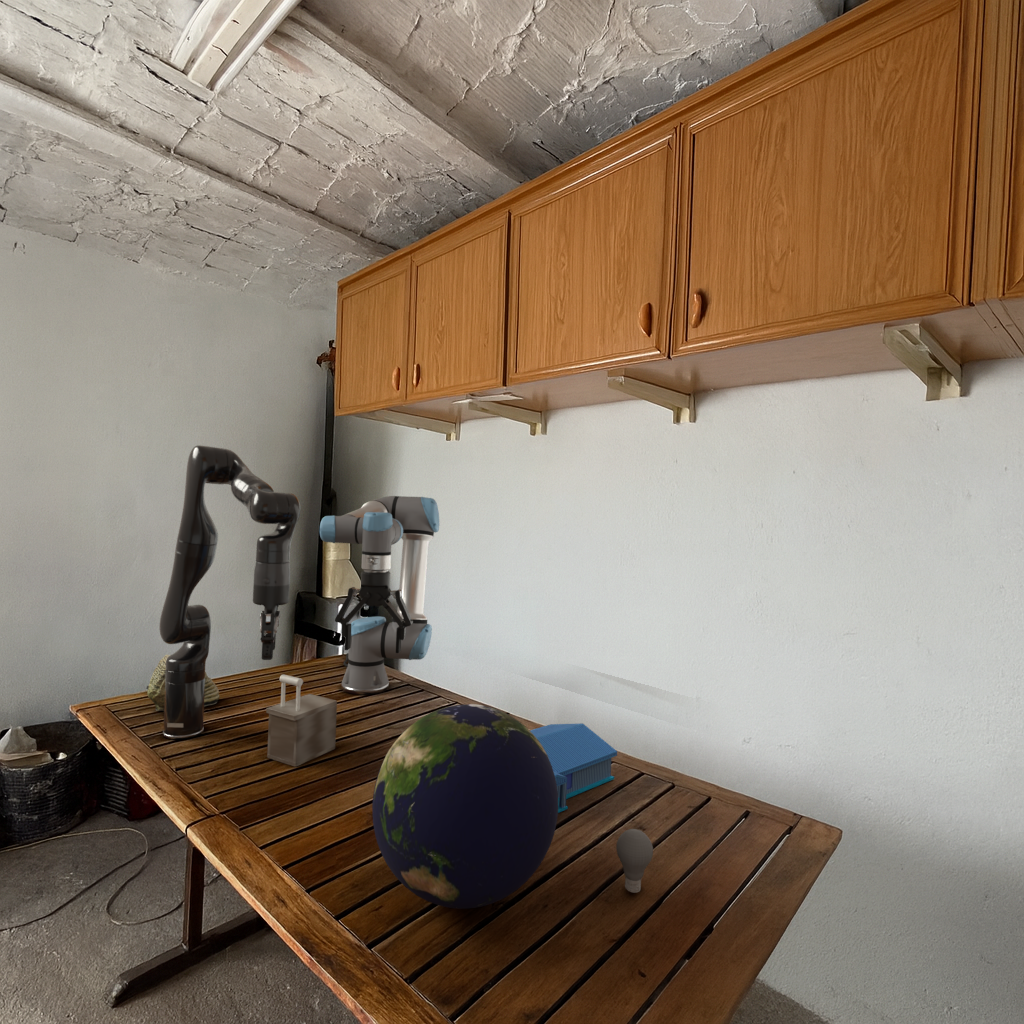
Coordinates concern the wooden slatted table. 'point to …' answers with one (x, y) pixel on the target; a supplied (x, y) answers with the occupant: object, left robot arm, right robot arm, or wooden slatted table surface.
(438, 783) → the globe
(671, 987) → the wooden slatted table surface
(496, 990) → the wooden slatted table surface
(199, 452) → the left robot arm
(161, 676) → the fossil
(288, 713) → the lid
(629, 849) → the light bulb
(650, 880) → the wooden slatted table surface
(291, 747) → the chest
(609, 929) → the wooden slatted table surface
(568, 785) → the model building
